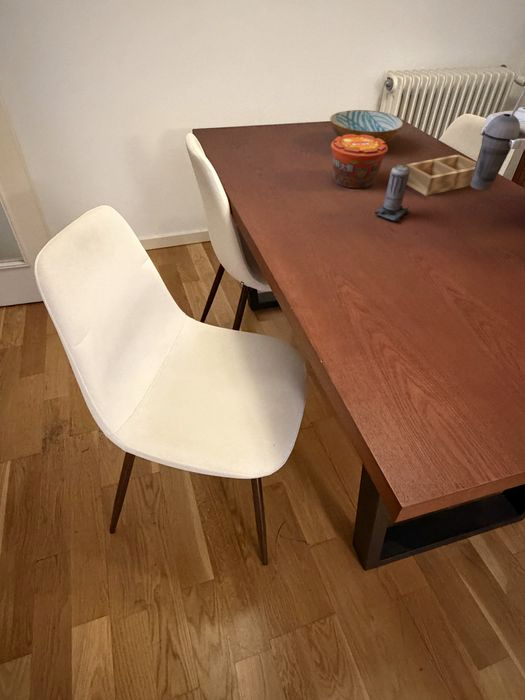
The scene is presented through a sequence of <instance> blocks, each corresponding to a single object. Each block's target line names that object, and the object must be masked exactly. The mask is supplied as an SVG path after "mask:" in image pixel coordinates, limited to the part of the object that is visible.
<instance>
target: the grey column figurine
mask: <svg viewBox="0 0 525 700" xmlns="http://www.w3.org/2000/svg"><path fill="white" fill-rule="evenodd" d="M409 173H410V172H409V168H407V167H405V165H404V164H394V166H393V167H392V168H391V170H390V174H389V178H388V183H387V187H386V192H385V196H384V201H383V205H382V206H381V207H380V208H379V209H376V211H374V215H376V216H380V217H382V218H384V219H388V220H391V221H394V223H399V221H400V220H401V217H403V216H404V215H408V214H409V209H410V208H409V206H408V207H407V208H404V205H402V204H403V201H404V198H405V197H404V196H405V194H406V189H407V186H408V185H407V181H408V177H409Z"/></svg>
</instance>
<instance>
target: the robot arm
mask: <svg viewBox="0 0 525 700" xmlns="http://www.w3.org/2000/svg"><path fill="white" fill-rule="evenodd" d="M512 112H513V110H506V111H498V112H494V113H490V114H488V115H487V117H486V118H485V121H484V123H483V127H482V128H481V131H480V133H479V134H480V136H482V137H483V135H484V134H483V132H484V131H485V129H486V127H487V126H488V124H489V123H490V122H491V121H492V120H493V119H494V118H495V117H497V116H499V115H502V114H512ZM514 116H515V117H516V118H517V119H518V120H519V123H520V132H519V136H518V138H511V139H510V140H509V144H508V145H507V147H509V148H511V150H524V151H525V106H520V107H518V108H517V110H516V111H515V113H514Z"/></svg>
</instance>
